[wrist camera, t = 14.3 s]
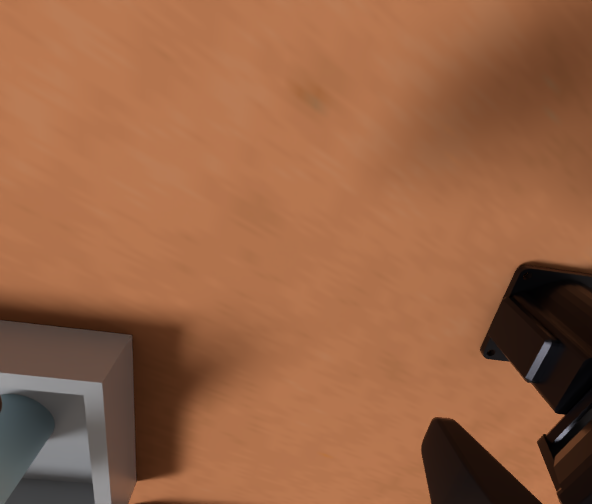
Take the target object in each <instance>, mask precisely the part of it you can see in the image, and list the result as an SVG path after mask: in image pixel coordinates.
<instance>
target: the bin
mask: <svg viewBox="0 0 592 504" xmlns="http://www.w3.org/2000/svg"><path fill="white" fill-rule="evenodd" d="M3 394H17V395H22V396H26V397H28V398H31V399H33V400H35V401H37V402H39V403H40V404H42V405H43V406H44V407H45V408H47V410H48V411H49V412H50V413H51V415H52V416H53V419H54V423H55V427H54V431H53V433H52V434H51V436H50V437H49V439H48V440H47V442H46V443H45V444H44V446H43V447H42V449H41V450H40V452H39V453H38V455H37V456H36V458H35V459H34V461H33V462H32V464H31V465H30V467H29V468H28V470H27V471H26V473H25V474H24V476H23V477H22V478H21V480H20V481H19V483H18V484H17V486H16V487H15V489H14V490H13V492H12V493H11V495H10V496H9V498H8V499H7V501H6V502H5V504H128V503H129V500H130V498H131V495H132V492H133V490H134V487H135V484H136V450H135V416H134V382H133V348H132V335H128V334H119V333H110V332H102V331H93V330H84V329H75V328H66V327H57V326H48V325H39V324H31V323H22V322H13V321H4V320H0V395H3Z"/></svg>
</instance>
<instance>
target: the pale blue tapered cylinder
mask: <svg viewBox="0 0 592 504" xmlns="http://www.w3.org/2000/svg"><path fill="white" fill-rule="evenodd" d="M1 400H2V409H1V412H0V504H5V502H6V501H7V499H8V498H9V496H10V495H11V493H12V492H13V490H14V489H15V487H16V486H17V484H18V483H19V481H20V480H21V478H22V477H23V476H24V474H25V473H26V471H27V470H28V468H29V467H30V465H31V464H32V462H33V461H34V459H35V458H36V456H37V455H38V453H39V452H40V450H41V449H42V447H43V446H44V444H45V443H46V442H47V440H48V439H49V437H50V436H51V434H52V433H53V431H54V427H55V423H54V419H53V416H52V415H51V413H50V412H49V411H48V410H47V408H45V407H44V406H43V405H42V404H40V403H39V402H37V401H35V400H33V399H31V398H28V397H26V396H22V395H17V394H3V395H1Z"/></svg>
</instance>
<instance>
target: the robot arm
mask: <svg viewBox="0 0 592 504" xmlns="http://www.w3.org/2000/svg"><path fill="white" fill-rule="evenodd" d="M527 272H528V273H527ZM525 273H527V275H526V276H524V277H523V275H524V274H525ZM489 350H491V351H489ZM488 351H489V352H488ZM480 352H481V353H482V355H483V356H484V357H485V358H486V359H492V360H501V361H509V362H511V364H512V365H513V366H514V367H515V369H516V370H517V371H518V372H519V373H520V375H521V376H522V377H523V378H524V380H525V381H526V382H528V383H531V384H532V385H533V386H534V387H535V388H536V390H537V391H538V392H539V393H540V394H541V396H542V397H543V398H544V399H545V401H546V402H547V403H548V404H549V405H550V407H551V408H552V409H553V410H554V412H555V413H557V414H565V416H564V417H563V418H562V419H561V420H560V421H559V422H558V423H557V424H556V425H555V426H554V427H553V428H552V429H551V431H550V432H549V433H548V434H547V435H546V434H544V435H543V436H542V437H541V438H540V439H539V440H538V441H537V444H538V446H539V449H540V451H541V454H542V456H543V459H544V461H545V464H546V466H547V469H548V471H549V474H550V476H551V479H552V481H553V484H554V486H555V489H556V491H557V496H558V499H559V502H560V504H592V274H586V273H579V272H572V271H565V270H558V269H551V268H543V267H536V266H529V265H523V266H520V267H519V268H518V269H517V270H516V271H515V273H514V275H513V278H512V280H511V282H510V284H509V286H508V289H507V291H506V293H505V295H504V297H503V300H502V302H501V304H500V306H499V308H498V310H497V313H496V315H495V317H494V319H493V321H492V324H491V326H490V328H489V330H488V333H487V335H486V337H485V339H484V341H483V344H482V346H481V348H480ZM1 409H2V400H1V395H0V412H1ZM421 451H422V458H423V463H424V468H425V473H426V478H427V483H428V488H429V494H430V499H431V504H542V503H541V502H540V501H539V500H538V499H537V498H536V497H535V496H534V495H533V494H532V493H531V492H530V491H528V490H527V489H526V488H525V487H524V486H523V485H522V484H521V483H520V482H519V481H518V480H517V479H516V478H515V477H514V476H513V475H512V474H511V473H510V472H509V471H508V470H506V469H505V468H504V467H503V466H502V465H501V464H500V463H499V462H498V461H497V460H496V459H495V458H494V457H493V456H492V455H491V454H490V453H489V452H488V451H487V450H486V449H484V448H483V447H482V446H481V445H480V444H479V443H478V442H477V441H476V440H475V439H474V438H473V437H472V436H471V435H470V434H469V433H468V432H467V431H466V430H465V429H464V428H462V427H461V426H460V425H459V424H458V423H457V422H456V421H455V420H453V419H450V418H441V417H435V418H433V419H432V421H431V423H430V425H429V427H428V430H427V432H426V434H425V437H424V439H423V442H422V447H421Z"/></svg>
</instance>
